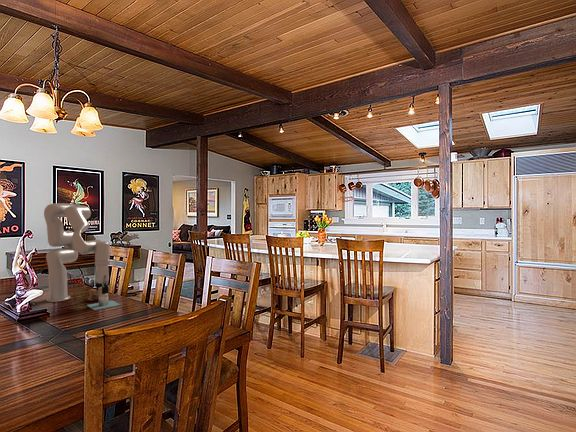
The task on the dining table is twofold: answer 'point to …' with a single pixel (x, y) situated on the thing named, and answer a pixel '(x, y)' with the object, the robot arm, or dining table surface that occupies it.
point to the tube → (102, 297)
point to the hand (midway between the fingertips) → (102, 291)
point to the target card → (97, 307)
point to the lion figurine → (93, 291)
